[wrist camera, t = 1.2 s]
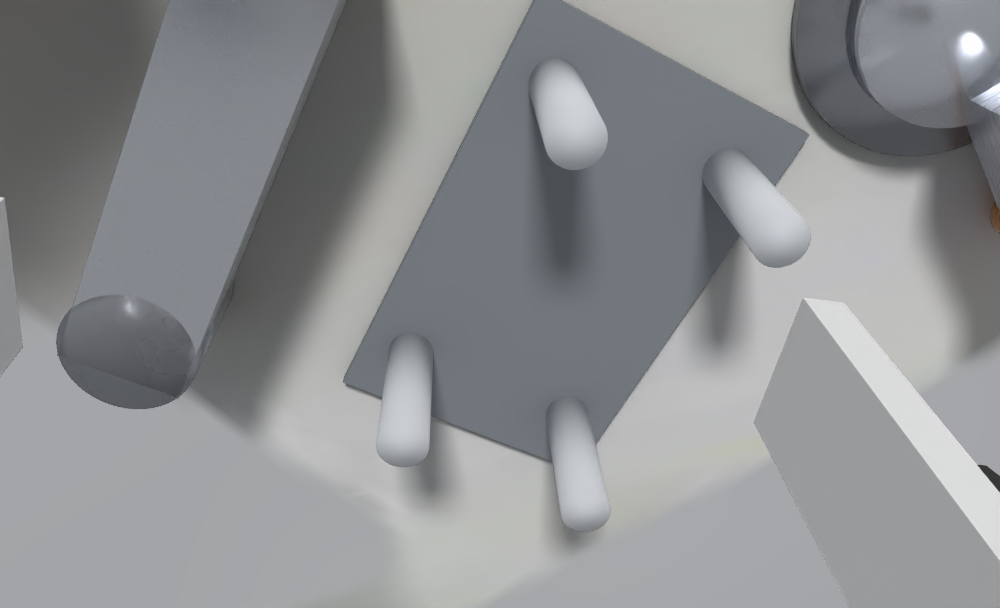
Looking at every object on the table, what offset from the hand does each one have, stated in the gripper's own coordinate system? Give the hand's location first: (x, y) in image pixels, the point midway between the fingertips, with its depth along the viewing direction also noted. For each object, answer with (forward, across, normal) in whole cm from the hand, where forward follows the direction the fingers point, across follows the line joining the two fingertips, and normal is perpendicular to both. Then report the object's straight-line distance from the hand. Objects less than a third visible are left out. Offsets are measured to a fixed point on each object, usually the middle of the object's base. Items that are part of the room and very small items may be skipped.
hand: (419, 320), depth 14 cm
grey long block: (+17, -6, -3) cm, 19 cm away
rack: (+17, +6, -7) cm, 19 cm away
